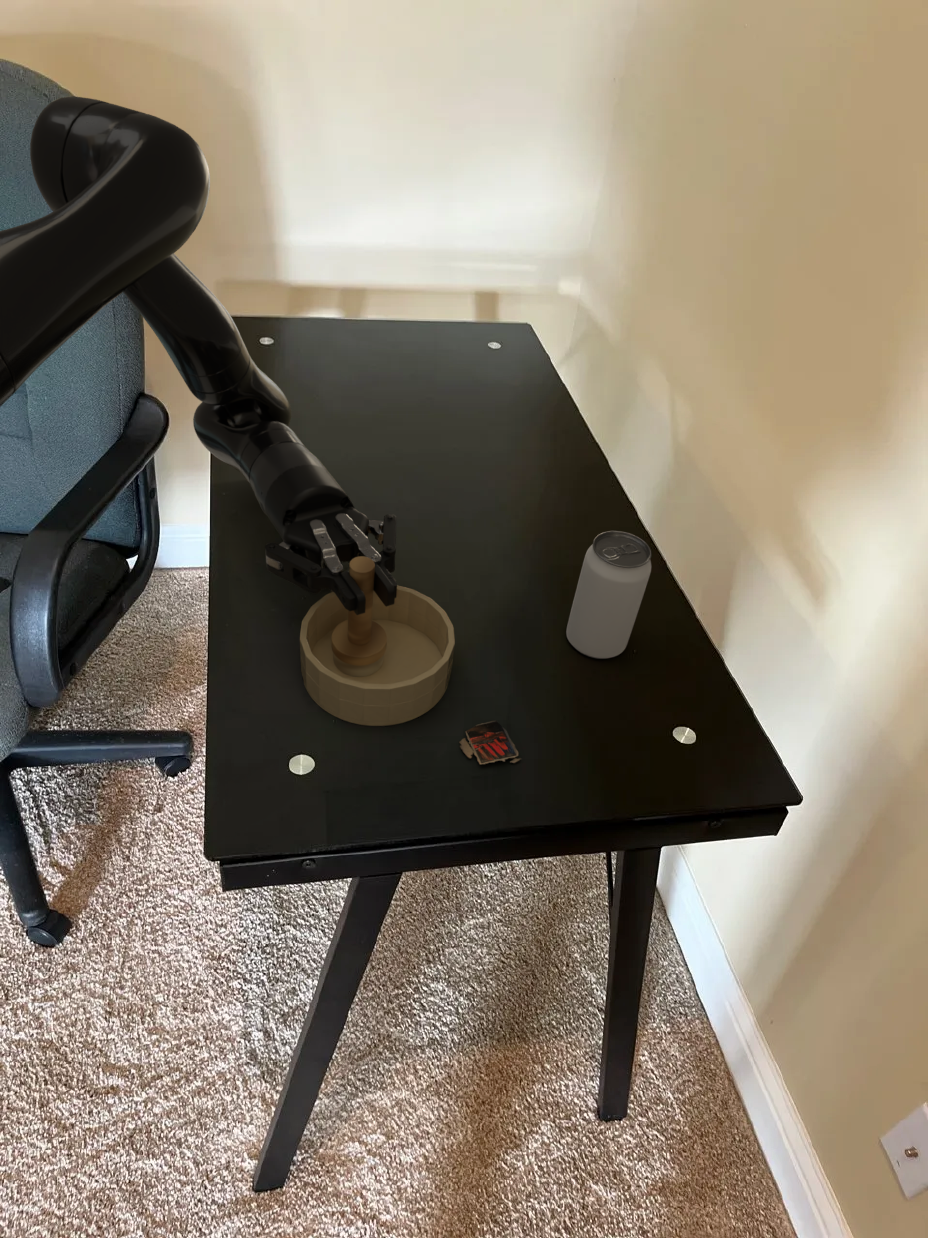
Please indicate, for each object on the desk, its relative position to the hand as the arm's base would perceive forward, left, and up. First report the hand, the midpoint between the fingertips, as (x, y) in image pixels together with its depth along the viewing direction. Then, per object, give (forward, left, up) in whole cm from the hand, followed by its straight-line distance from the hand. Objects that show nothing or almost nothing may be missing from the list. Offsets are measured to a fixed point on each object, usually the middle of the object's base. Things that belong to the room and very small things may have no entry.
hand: (376, 601), depth 71 cm
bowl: (0, +2, -11) cm, 11 cm away
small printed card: (+12, -4, -11) cm, 17 cm away
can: (+20, +14, -11) cm, 27 cm away
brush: (-2, +2, -10) cm, 11 cm away
